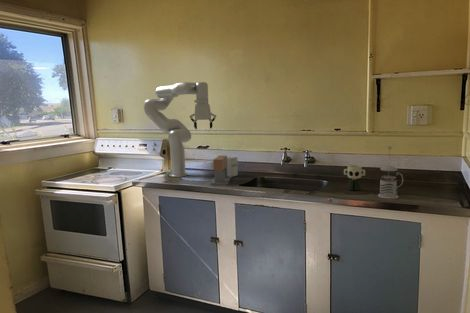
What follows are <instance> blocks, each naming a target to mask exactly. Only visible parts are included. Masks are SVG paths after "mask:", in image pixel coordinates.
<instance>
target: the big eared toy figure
mask: <svg viewBox="0 0 470 313" xmlns="http://www.w3.org/2000/svg"><path fill="white" fill-rule="evenodd" d="M362 168H363V167H362V165H358V164H357V165H356V164H351V165H347V168H345V169H343V175H344V176H347V178H348V179H349V181H348V184H347V189H348V190H350V191H359V190H361V183H360V179H362V177H364V176H366V169H362ZM346 171H347V172H346Z"/></svg>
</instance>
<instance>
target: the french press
mask: <svg viewBox="0 0 470 313" xmlns="http://www.w3.org/2000/svg"><path fill="white" fill-rule="evenodd" d="M387 149H388V150H389V151H388V158H391V157H390V153H391V150H390V149H392V146H390V145H388V146H387ZM379 169H380V171H383V172H396V171H398V168H397V167H395V166H393V165H390V164H388V165H385V166H381V167H380V168H379ZM395 174H396V176H398V175H400V176H401V184H400V185H398V184H397V183H398V180H397V177H396V176H394V175H390V173H388V175H381V176H380V180H379V193H378V194H377V196H378V198H383V199H391V198H392V199H398V198H399V195H398V188H400V187H401V186H402V185H403V184H404V176H403V174H402V173H400V172H396V173H395Z"/></svg>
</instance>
